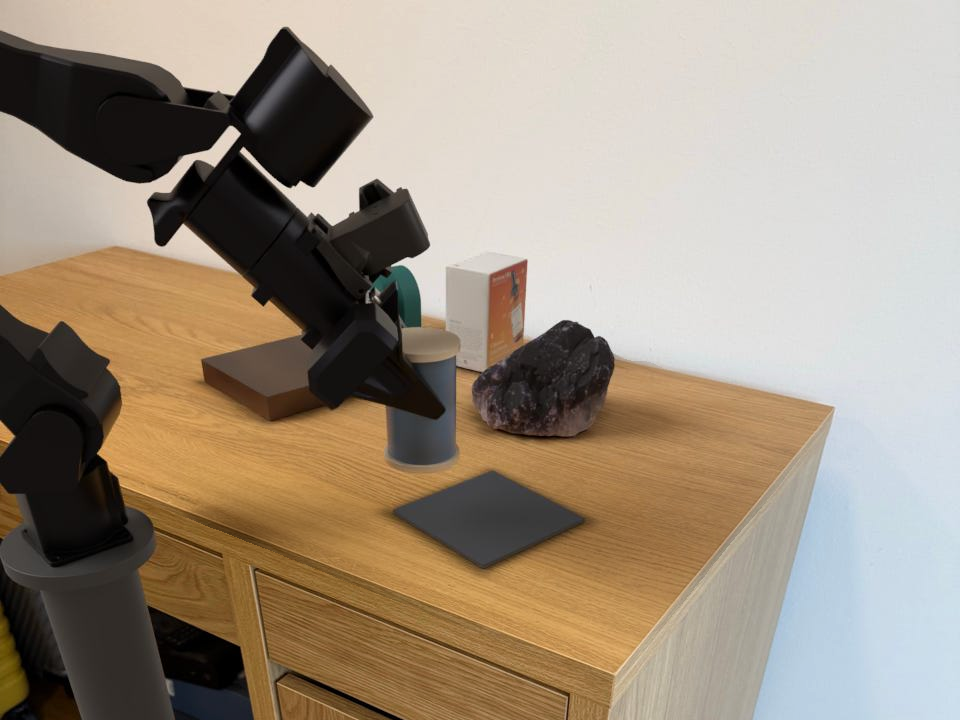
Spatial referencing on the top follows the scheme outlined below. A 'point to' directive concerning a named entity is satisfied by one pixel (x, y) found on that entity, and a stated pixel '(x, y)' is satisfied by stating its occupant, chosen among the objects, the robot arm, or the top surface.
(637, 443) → the top surface
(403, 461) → the spool
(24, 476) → the robot arm
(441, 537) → the felt mat
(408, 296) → the bracket
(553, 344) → the crystal cluster
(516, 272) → the small box
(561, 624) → the top surface
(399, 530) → the top surface
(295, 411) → the platform
